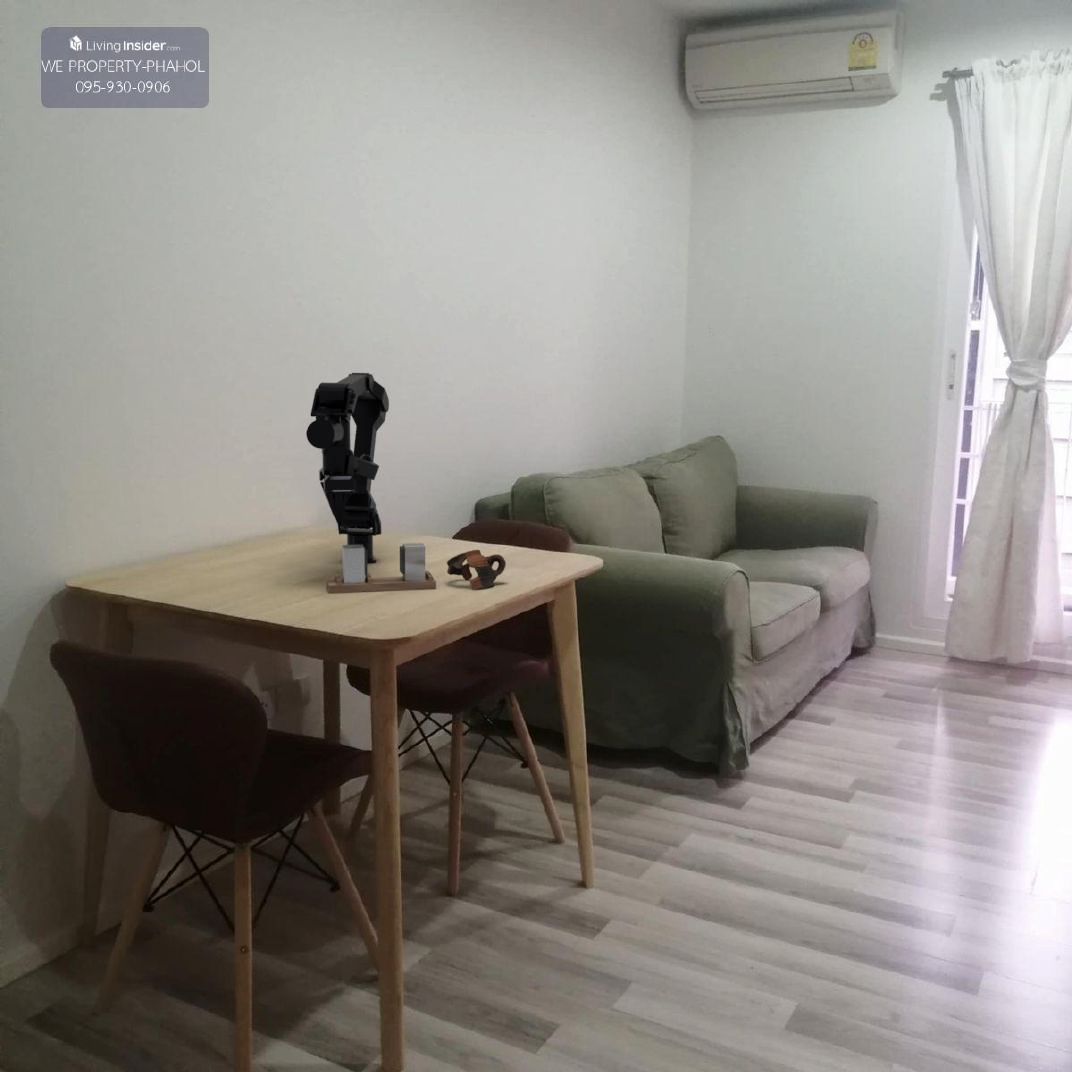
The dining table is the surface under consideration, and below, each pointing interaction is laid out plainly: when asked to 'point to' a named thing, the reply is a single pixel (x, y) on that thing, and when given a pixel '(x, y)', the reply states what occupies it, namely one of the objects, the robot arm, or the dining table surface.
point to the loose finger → (354, 563)
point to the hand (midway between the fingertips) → (337, 519)
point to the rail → (411, 579)
